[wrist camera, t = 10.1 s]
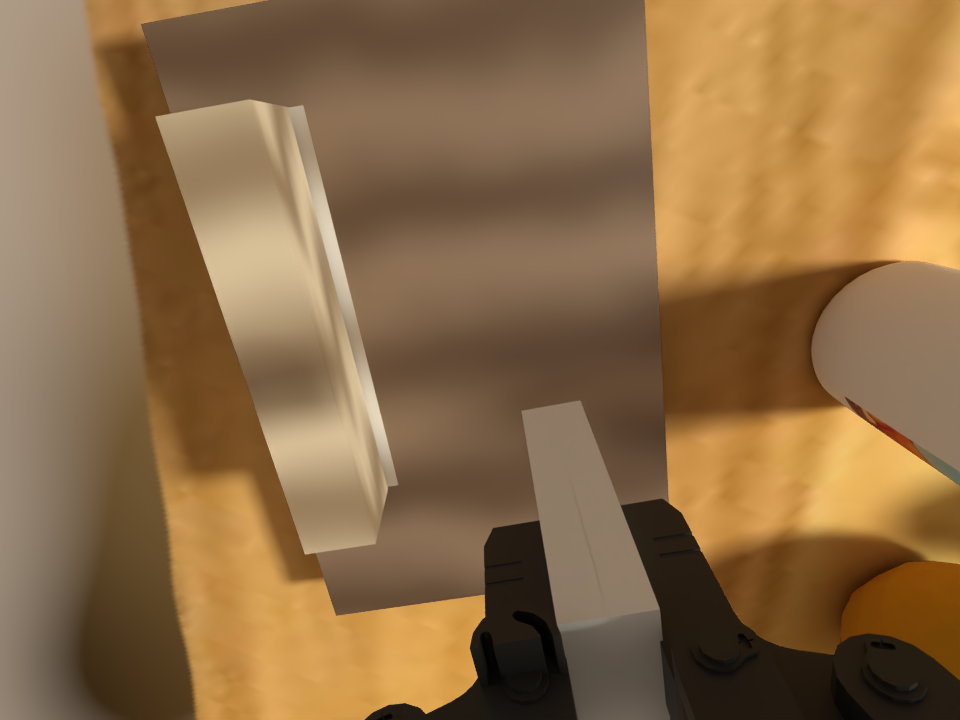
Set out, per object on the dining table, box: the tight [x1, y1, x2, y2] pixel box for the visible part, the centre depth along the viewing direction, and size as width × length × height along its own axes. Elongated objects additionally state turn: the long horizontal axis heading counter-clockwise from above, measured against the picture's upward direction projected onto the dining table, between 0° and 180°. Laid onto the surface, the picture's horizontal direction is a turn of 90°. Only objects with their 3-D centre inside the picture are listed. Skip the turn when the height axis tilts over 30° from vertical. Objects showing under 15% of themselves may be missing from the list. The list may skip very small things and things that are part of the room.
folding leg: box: [155, 99, 388, 555], centre depth 22 cm, size 17×3×4 cm, turn 9°
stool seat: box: [141, 0, 669, 616], centre depth 26 cm, size 28×18×3 cm, turn 9°
